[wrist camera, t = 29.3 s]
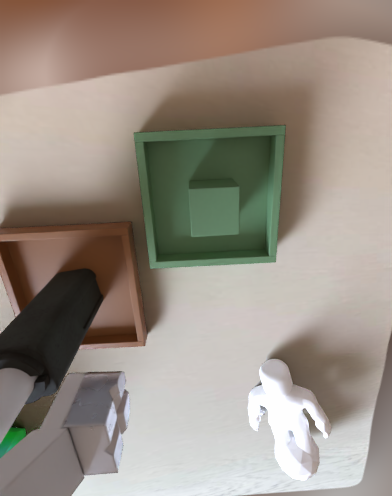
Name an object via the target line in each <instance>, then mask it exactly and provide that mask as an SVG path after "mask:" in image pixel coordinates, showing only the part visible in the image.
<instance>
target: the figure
mask: <svg viewBox="0 0 392 496" xmlns="http://www.w3.org/2000/svg"><path fill="white" fill-rule="evenodd" d="M259 374H260V378H261V381H262V385H260V386H257V387H254V388H253V389H252V390H251V391H250V394H249V406H248V413H249V418H250V425H251V426H252V427H253V429H254V430H257V431H258V428H259V424H258V423H260V417H261V415H262V414H263V415H265V412H264V411H263V410H262V409H260V405H262V406H264V407H266V408H267V410H268V412H269V419H268V421H269V424H270V425H271V427H272V430H273V433H274V436H275V441H276V442H275V457H276V459H277V461H278V462H279V464H280V466H281V468H282V469H283V470H284V471H285V472H286V473H287V474H288V475H289V476H290V477H292V478H293V479H298V480H305V481H306V480H307V479H309V478H311V477H312V476H314V475H315V474H316V472H317V469H318V466H319V463H320V460H319V448H318V446H317V445H316V443H315V441H314V440H313V438H312V436H310V430H309V426H308V425H309V424H308V420H307V418H306V416H305V414H304V413H303V408H306V409H307V410H308V412H309V413H310V415H311V417H312V418H313V419H314V420H315V425H316V427H317V428H318V429H319V430H321V431H322V432H323V433H324V438H327V437H328V436H329V434H330V432H331V429H332V427H331V425H330V421H329V420H328V418H327V417H326V415H325V413H324V411H323V409H322V408H321V406H320V405H319V404H318V402H317V400H316V397H315V395H314V394H313V393H312V392H311V391H310V390H308V389H306V388H303V387H300V386H298V385H292V379H291V375H290V371H289V368H288V366H287V365H286V364H285V363H284V362H283V361H281V360H279V359H270V360H267V361H265V362H264V363H263V364H262V365H261V367H260V370H259Z"/></svg>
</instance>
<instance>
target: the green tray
mask: <svg viewBox="0 0 392 496" xmlns="http://www.w3.org/2000/svg"><path fill="white" fill-rule="evenodd" d="M285 128H286V126H285V125H277V126H257V127H237V128H216V129H196V130H176V131H156V132H136V133H134V140H135V148H136V156H137V165H138V173H139V181H140V189H141V197H142V205H143V214H144V222H145V230H146V238H147V246H148V254H149V263H150V269H152V268H172V267H192V266H211V265H231V264H251V263H271V262H276V253H277V239H278V225H279V211H280V197H281V183H282V170H283V156H284V142H285ZM227 178H233V180H234V181H235V182H236V183H237V184H238V185H239V186H240V215H239V234H235V235H216V236H198V237H192V236H191V221H190V204H189V181H190V180H209V179H227Z"/></svg>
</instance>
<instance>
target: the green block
mask: <svg viewBox="0 0 392 496" xmlns="http://www.w3.org/2000/svg"><path fill="white" fill-rule="evenodd" d="M189 204H190V221H191V236H192V237H198V236H216V235H235V234H239V215H240V186H239V185H238V184H237V183H236V182H235V181H234V180H233V178H227V179H209V180H190V181H189Z"/></svg>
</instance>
